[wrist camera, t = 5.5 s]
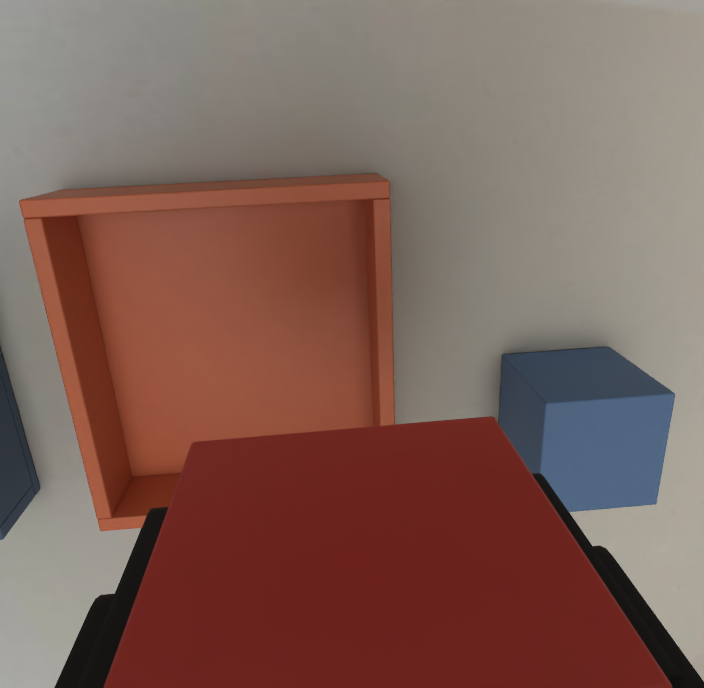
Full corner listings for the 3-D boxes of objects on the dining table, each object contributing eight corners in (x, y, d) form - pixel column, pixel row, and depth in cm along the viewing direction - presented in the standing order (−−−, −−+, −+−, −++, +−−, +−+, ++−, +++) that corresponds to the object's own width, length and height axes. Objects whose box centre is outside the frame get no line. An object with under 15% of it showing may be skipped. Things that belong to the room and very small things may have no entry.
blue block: (501, 353, 26) (545, 403, 21) (609, 346, 26) (676, 393, 21) (496, 450, 27) (536, 515, 23) (597, 441, 28) (656, 505, 23)
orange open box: (60, 189, 22) (17, 200, 19) (377, 172, 22) (390, 180, 19) (125, 482, 26) (99, 531, 23) (385, 461, 27) (396, 506, 24)
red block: (190, 439, 9) (73, 758, 5) (494, 414, 9) (678, 689, 5) (230, 666, 11) (175, 1063, 6) (485, 639, 11) (613, 1000, 7)
